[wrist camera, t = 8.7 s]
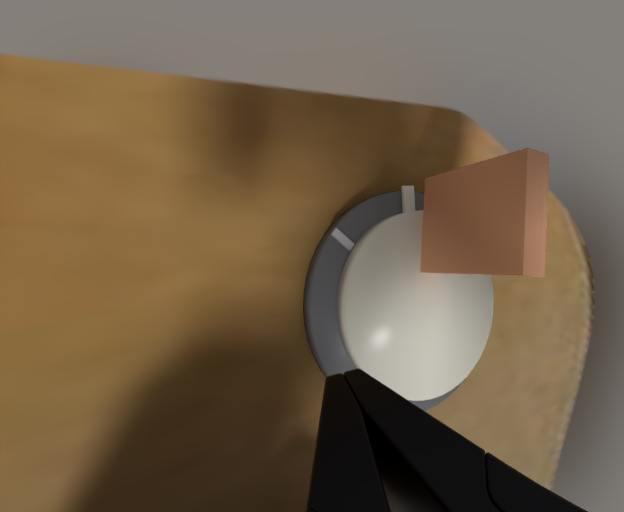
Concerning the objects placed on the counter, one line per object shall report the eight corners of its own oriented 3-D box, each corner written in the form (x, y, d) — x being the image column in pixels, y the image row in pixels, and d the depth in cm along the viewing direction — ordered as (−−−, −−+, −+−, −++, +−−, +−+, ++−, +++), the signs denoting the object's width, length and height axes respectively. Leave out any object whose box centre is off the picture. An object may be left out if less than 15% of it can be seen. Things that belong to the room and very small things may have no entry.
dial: (475, 387, 26) (601, 434, 19) (330, 402, 21) (427, 473, 14) (483, 197, 27) (608, 173, 20) (344, 167, 22) (444, 121, 15)
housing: (498, 341, 30) (514, 345, 28) (355, 455, 24) (367, 466, 23) (440, 166, 27) (454, 161, 26) (265, 243, 21) (273, 242, 20)
